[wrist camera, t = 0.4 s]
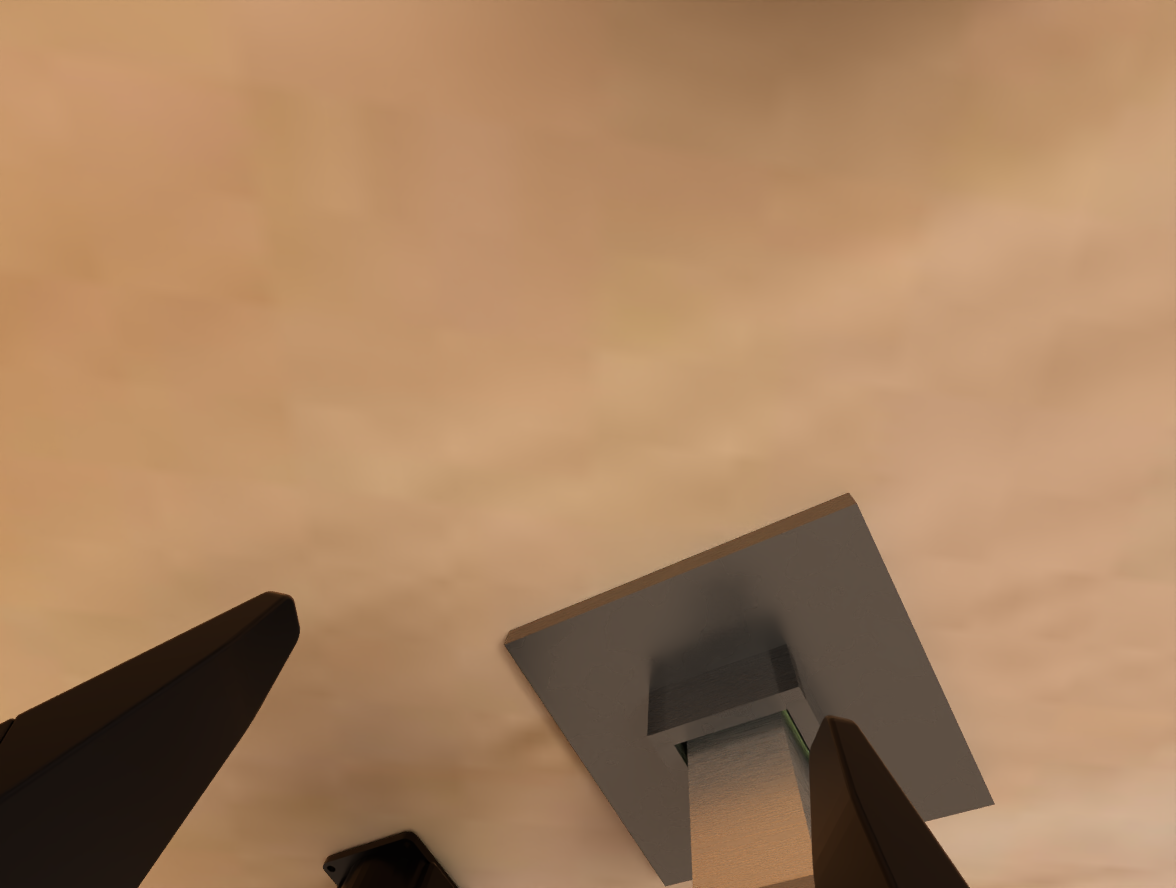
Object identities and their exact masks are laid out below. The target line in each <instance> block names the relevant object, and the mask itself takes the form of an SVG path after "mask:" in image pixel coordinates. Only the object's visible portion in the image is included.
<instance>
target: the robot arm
mask: <svg viewBox="0 0 1176 888" xmlns="http://www.w3.org/2000/svg"><path fill="white" fill-rule="evenodd" d="M299 634H300V626H299V621H298V616H297V612H296V607H295V602H294V599H293V598H292V597H291V596H290V595H287V594H283V593H278V592H273V591H268V592H265V593H263V594H260V595H258V596H256V597H254V598H252V599H250V600H248V601H246V602H244V603H242V604H240V605H238V606H236V607H234V608H232V609H230V610H228V611H226V612H224V613H222V614H220V615H218V616H216V617H214V618H212V619H210V620H208V621H206V622H204V623H202V624H200V625H198V626H196V627H194V628H192V629H190V630H188V631H186V632H184V633H182V634H180V635H178V636H176V637H174V638H172V639H170V640H168V641H166V642H164V643H162V644H160V645H158V646H156V647H154V648H152V649H150V650H148V651H146V652H144V653H142V654H140V655H138V656H136V657H134V658H132V659H130V660H128V661H126V662H124V663H122V664H120V665H118V666H116V667H114V668H112V669H110V670H108V671H106V672H104V673H102V674H100V675H98V676H96V677H94V678H92V679H90V680H88V681H86V682H84V683H82V684H80V685H78V686H76V687H74V688H72V689H70V690H68V691H66V692H64V693H62V694H60V695H58V696H56V697H54V698H52V699H50V700H48V701H45V702H43V703H41V704H39V705H37V706H35V707H33V708H31V709H29V710H27V711H25V712H23V713H21V714H19V715H18V716H17V717H16V719H9V720H7V721H5V722H3V723H1V724H0V888H138V887H139V885H140V884H141V882H142V881H143V879H144V878H145V876H146V875H147V874H148V872H149V871H150V869H151V868H152V866H153V865H154V863H155V862H156V861H157V859H158V858H159V856H160V855H161V853H162V852H163V850H164V849H165V848H166V846H167V845H168V843H169V842H170V840H171V839H172V837H173V836H174V835H175V833H176V832H177V830H178V829H179V827H180V826H181V824H182V823H183V822H184V820H185V819H186V817H187V816H188V814H189V813H190V811H191V810H192V809H193V807H194V806H195V804H196V803H197V801H198V800H199V798H200V797H201V796H202V794H203V793H204V791H205V790H206V788H207V787H208V785H209V784H210V783H211V781H212V780H213V778H214V777H215V775H216V774H217V772H218V771H219V770H220V768H221V767H222V765H223V764H224V762H225V761H226V759H227V758H228V757H229V755H230V754H231V752H232V751H233V749H234V748H235V746H236V745H237V744H238V742H239V741H240V739H241V738H242V736H243V735H244V733H245V732H246V730H247V729H248V727H249V726H250V724H251V722H252V721H253V719H254V717H255V716H256V714H257V712H258V711H259V709H260V707H261V705H262V704H263V702H264V700H265V698H266V696H267V695H268V693H269V691H270V689H271V688H272V686H273V684H274V682H275V680H276V679H277V677H278V675H279V673H280V672H281V670H282V668H283V666H284V664H285V663H286V661H287V659H288V657H289V655H290V654H291V652H292V650H293V648H294V647H295V645H296V643H297V640H298V638H299ZM809 781H810V811H811V841H812V863H813V875H814V884H815V888H970V887H969V886H968V884H967V883H966V882H965V880H964V879H963V877H962V876H961V874H960V873H959V871H958V870H957V868H956V867H955V866H954V864H953V863H952V861H951V860H950V858H949V857H948V855H947V854H946V853H945V851H944V850H943V848H942V847H941V845H940V844H939V842H938V841H937V839H936V838H935V837H934V835H933V834H932V832H931V831H930V829H929V828H928V826H927V825H926V824H925V822H924V821H923V819H922V818H921V816H920V815H919V813H918V812H917V810H916V809H915V808H914V806H913V805H912V803H911V802H910V800H909V799H908V797H907V796H906V795H905V793H904V792H903V790H902V789H901V787H900V786H899V784H898V783H897V781H896V780H895V779H894V777H893V776H892V774H891V773H890V771H889V770H888V768H887V767H886V766H885V764H884V763H883V761H882V760H881V758H880V757H879V755H878V754H877V752H876V751H875V750H874V748H873V747H872V745H871V744H870V742H869V741H868V739H867V738H866V737H865V735H864V734H863V732H862V731H861V729H860V728H859V726H858V725H857V724H856V723H855V722H854V721H852V720H850V719H846V718H842V717H837V716H833V715H827V716H825V717H824V719H823V720H822V722H821V725H820V727H819V729H818V732H817V734H816V736H815V738H814V741H813V743H812V745H811V748H810V753H809ZM323 869H324V871H325V872H326V873H327V874H328V875H329V876H330V878H331V879H332V880H333V881H334V882H335V884H336V885H337V888H458V887H457V886H456V885H455V884H454V882H453V881H452V880H451V878H450V877H449V876H448V875H447V873H446V872H445V871H444V870H443V868H442V867H441V866H440V864H439V863H438V862H437V861H436V859H435V858H434V857H433V856H432V854H431V853H430V852H429V850H428V849H427V848H426V847H425V845H424V844H423V843H422V842H421V840H420V839H419V838H418V837H417V835H415V834H414V833H412V832H404V833H401V834H398V835H394V836H391V837H388V838H385V839H382V840H379V841H375V842H372V843H369V844H366V845H363V846H360V847H357V848H353V849H350V850H347V851H344V852H341V853H338V854H334V855H331V856H329V857H328V858H327V860H326V861H325V863H324V865H323Z"/></svg>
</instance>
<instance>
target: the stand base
mask: <svg viewBox="0 0 1176 888" xmlns="http://www.w3.org/2000/svg"><path fill="white" fill-rule="evenodd" d="M504 645H505V647H506V648H507V650H508V651H509V653H510V654H511V656H512V657H513V659H514V660H515V662H516V663H517V665H518V666H519V668H520V669H521V671H522V672H523V674H524V675H525V677H526V678H527V680H528V681H529V683H530V684H531V686H532V687H533V689H534V690H535V692H536V693H537V695H538V696H539V698H540V699H541V701H542V702H543V704H544V705H545V707H546V708H547V710H548V711H549V713H550V714H551V716H552V717H553V719H554V720H555V722H556V723H557V725H558V726H559V728H560V729H561V731H562V732H563V734H564V735H565V737H566V738H567V740H568V741H569V743H570V744H571V746H572V747H573V749H574V750H575V752H576V753H577V755H578V756H579V758H580V759H581V761H582V762H583V764H584V765H585V767H586V768H587V770H588V771H589V773H590V774H591V776H592V777H593V779H594V780H595V782H596V783H597V785H598V786H599V788H600V789H601V791H602V792H603V794H604V795H605V797H606V798H607V800H608V801H609V803H610V804H611V806H612V807H613V809H614V810H615V812H616V813H617V815H618V816H619V818H620V819H621V821H622V822H623V824H624V825H625V826H626V828H627V829H628V831H629V832H630V834H631V835H632V837H633V838H634V840H635V841H636V843H637V844H638V846H639V847H640V849H641V850H642V852H643V853H644V855H645V856H646V858H647V859H648V861H649V862H650V864H651V865H652V867H653V868H654V870H655V871H656V873H657V874H658V876H659V877H660V879H661V880H662V882H663V883H664V885H665V886H669V885H673V884H677V883H681V882H685V881H689V880H693V878H692V853H691V828H690V803H689V778H688V753H687V741H688V740H691V739H695V738H698V737H701V736H704V735H707V734H710V733H714V732H717V731H720V730H723V729H726V728H729V727H732V726H736V725H739V724H742V723H745V722H748V721H751V720H754V719H758V718H761V717H764V716H767V715H770V714H773V713H776V712H780V711H783V710H786V709H788V711H789V713H790V715H791V716H792V718H793V720H794V722H795V724H796V726H797V728H798V729H799V731H800V733H801V735H802V737H803V739H804V740H805V742H806V744H807V746H808V748H809V750H810V748H811V745H812V743H813V741H814V738H815V736H816V734H817V732H818V729H819V727H820V725H821V722H822V720H823V719H824V717H825V716H827V715H833V716H837V717H842V718H846V719H850V720H852V721H854V722H855V723H856V724H857V725H858V726H859V728H860V729H861V731H862V732H863V734H864V735H865V737H866V738H867V739H868V741H869V742H870V744H871V745H872V747H873V748H874V750H875V751H876V752H877V754H878V755H879V757H880V758H881V760H882V761H883V763H884V764H885V766H886V767H887V768H888V770H889V771H890V773H891V774H892V776H893V777H894V779H895V780H896V781H897V783H898V784H899V786H900V787H901V789H902V790H903V792H904V793H905V795H906V796H907V797H908V799H909V800H910V802H911V803H912V805H913V806H914V808H915V809H916V810H917V812H918V813H919V815H920V816H921V818H922V819H923V821H924V822H926V821H930V820H934V819H938V818H942V817H946V816H950V815H954V814H958V813H962V812H966V811H970V810H974V809H978V808H982V807H986V806H990V805H994V802H993V799H992V797H991V795H990V793H989V791H988V788H987V786H986V784H985V782H984V780H983V778H982V775H981V773H980V771H979V769H978V767H977V765H976V762H975V760H974V758H973V756H972V754H971V751H970V749H969V747H968V745H967V743H966V741H965V738H964V736H963V734H962V732H961V730H960V727H959V725H958V723H957V721H956V719H955V717H954V714H953V712H952V710H951V708H950V706H949V703H948V701H947V699H946V697H945V695H944V693H943V690H942V688H941V686H940V684H939V682H938V680H937V677H936V675H935V673H934V671H933V669H932V666H931V664H930V662H929V660H928V658H927V656H926V653H925V651H924V649H923V647H922V645H921V642H920V640H919V638H918V636H917V634H916V632H915V629H914V627H913V625H912V623H911V621H910V619H909V616H908V614H907V612H906V610H905V608H904V605H903V603H902V601H901V599H900V597H899V595H898V592H897V590H896V588H895V586H894V584H893V581H892V579H891V577H890V575H889V573H888V571H887V568H886V566H885V564H884V562H883V560H882V557H881V555H880V553H879V551H878V549H877V547H876V544H875V542H874V540H873V538H872V536H871V534H870V531H869V529H868V527H867V525H866V523H865V520H864V518H863V516H862V514H861V512H860V510H859V507H858V505H857V503H856V502H855V500H854V499H853V498H852V496H851V495H850V494H849V493H847V494H845V495H842V496H840V497H837V498H835V499H832V500H830V501H827V502H825V503H822V504H820V505H818V506H815V507H813V508H810V509H808V510H805V511H803V512H800V513H798V514H795V515H793V516H791V517H788V518H786V519H783V520H781V521H778V522H776V523H773V524H771V525H769V526H766V527H764V528H761V529H759V530H756V531H754V532H751V533H749V534H746V535H744V536H742V537H739V538H737V539H734V540H732V541H729V542H727V543H724V544H722V545H719V546H717V547H715V548H712V549H710V550H707V551H705V552H702V553H700V554H697V555H695V556H693V557H690V558H688V559H685V560H683V561H680V562H678V563H675V564H673V565H670V566H668V567H666V568H663V569H661V570H658V571H656V572H653V573H651V574H648V575H646V576H643V577H641V578H639V579H636V580H634V581H631V582H629V583H626V584H624V585H621V586H619V587H617V588H614V589H612V590H609V591H607V592H604V593H602V594H599V595H597V596H594V597H592V598H590V599H587V600H585V601H582V602H580V603H577V604H575V605H572V606H570V607H567V608H565V609H563V610H560V611H558V612H555V613H553V614H550V615H548V616H545V617H543V618H541V619H538V620H536V621H533V622H531V623H528V624H526V625H523V626H521V627H518V628H516V629H514V630H511V631H510V632H509V634H508V637H507V639H506V642H505V644H504Z"/></svg>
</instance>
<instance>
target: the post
mask: <svg viewBox="0 0 1176 888" xmlns="http://www.w3.org/2000/svg"><path fill="white" fill-rule="evenodd" d="M687 753H688V778H689V803H690V828H691V853H692V878H693V888H815V884H814V875H813V863H812V841H811V811H810V781H809V753H810V750H809V748H808V746H807V744H806V742H805V740H804V739H803V737H802V735H801V733H800V731H799V729H798V728H797V726H796V724H795V722H794V720H793V718H792V716H791V715H790V713H789V711H788V709H786V710H783V711H780V712H776V713H773V714H770V715H767V716H764V717H761V718H758V719H754V720H751V721H748V722H745V723H742V724H739V725H736V726H732V727H729V728H726V729H723V730H720V731H717V732H714V733H710V734H707V735H704V736H701V737H698V738H695V739H691V740H688V741H687Z"/></svg>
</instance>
